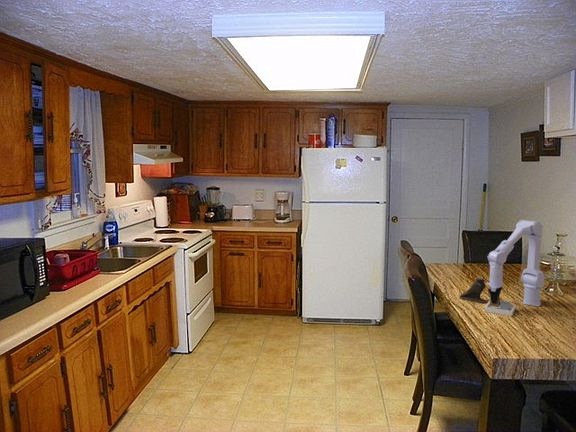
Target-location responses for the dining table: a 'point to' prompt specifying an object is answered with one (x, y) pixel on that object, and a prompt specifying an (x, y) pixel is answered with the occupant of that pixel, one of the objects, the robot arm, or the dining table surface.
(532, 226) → the robot arm
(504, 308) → the gray block
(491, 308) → the dish
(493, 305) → the walnut block
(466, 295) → the sculpture
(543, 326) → the dining table surface
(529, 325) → the dining table surface
